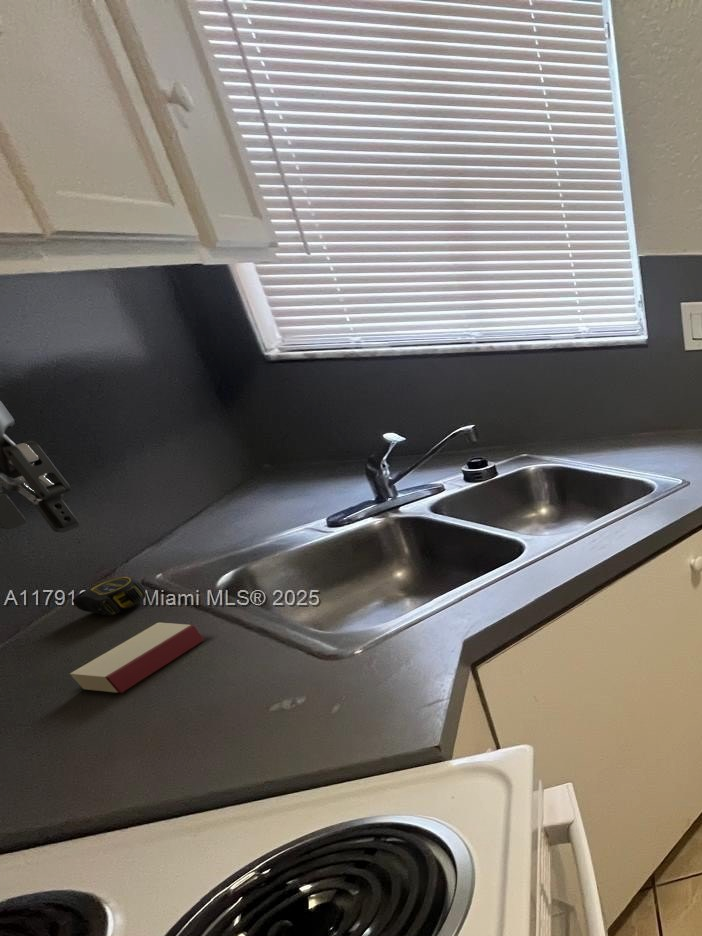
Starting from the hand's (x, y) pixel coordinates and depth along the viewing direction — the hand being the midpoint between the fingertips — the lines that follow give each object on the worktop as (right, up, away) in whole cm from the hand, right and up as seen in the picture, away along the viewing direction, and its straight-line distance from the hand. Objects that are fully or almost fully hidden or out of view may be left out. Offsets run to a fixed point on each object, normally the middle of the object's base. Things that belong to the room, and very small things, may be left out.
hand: (41, 527), depth 75 cm
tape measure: (-13, -10, +21) cm, 26 cm away
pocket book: (+4, -17, +9) cm, 19 cm away
